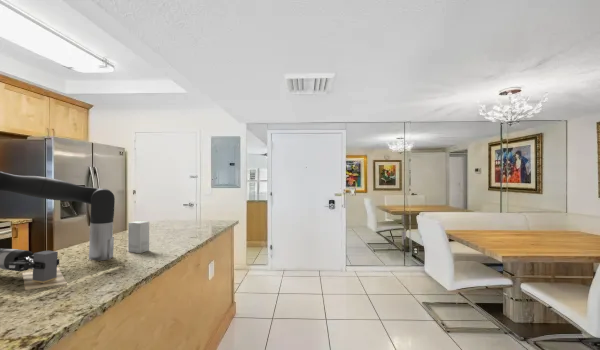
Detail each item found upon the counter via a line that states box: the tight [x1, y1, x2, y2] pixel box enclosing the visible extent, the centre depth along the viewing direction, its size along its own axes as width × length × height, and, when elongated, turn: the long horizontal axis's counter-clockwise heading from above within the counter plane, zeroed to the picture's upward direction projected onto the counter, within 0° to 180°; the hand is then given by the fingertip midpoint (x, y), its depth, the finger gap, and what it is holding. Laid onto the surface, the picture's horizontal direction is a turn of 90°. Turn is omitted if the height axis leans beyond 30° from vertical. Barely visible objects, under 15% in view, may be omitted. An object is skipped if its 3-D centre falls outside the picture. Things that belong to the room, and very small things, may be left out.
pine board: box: [22, 267, 68, 291], centre depth 113 cm, size 24×11×1 cm, turn 44°
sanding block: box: [32, 250, 58, 283], centre depth 110 cm, size 5×4×10 cm
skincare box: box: [127, 220, 150, 254], centre depth 160 cm, size 8×7×16 cm
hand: (51, 264), depth 109 cm, fingers closed on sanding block, 4 cm apart
